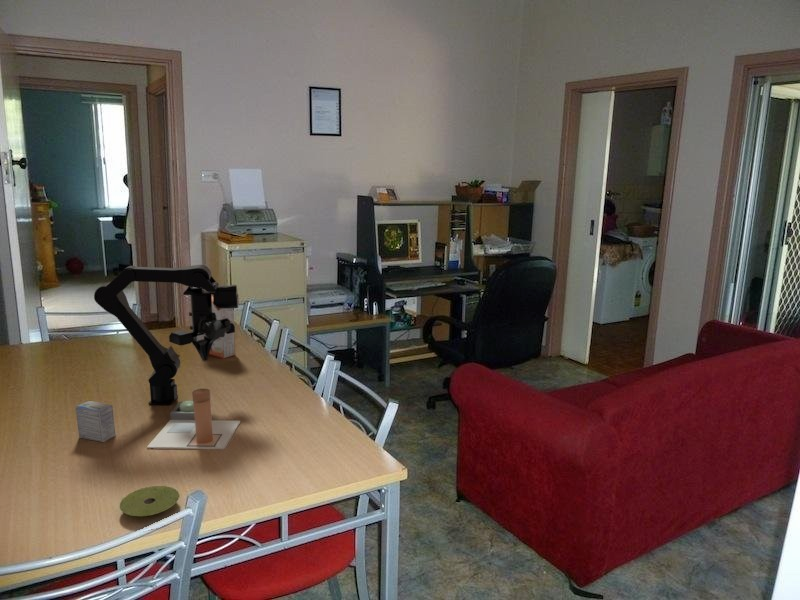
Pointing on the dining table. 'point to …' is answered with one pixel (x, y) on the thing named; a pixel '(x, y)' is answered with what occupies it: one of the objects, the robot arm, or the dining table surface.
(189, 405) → the button
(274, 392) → the dining table surface
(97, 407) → the medicine box
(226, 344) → the cracker box
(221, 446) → the colouring sheet
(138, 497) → the green disc
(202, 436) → the brown tall rounded cylinder
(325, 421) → the dining table surface
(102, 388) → the dining table surface
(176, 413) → the button housing
